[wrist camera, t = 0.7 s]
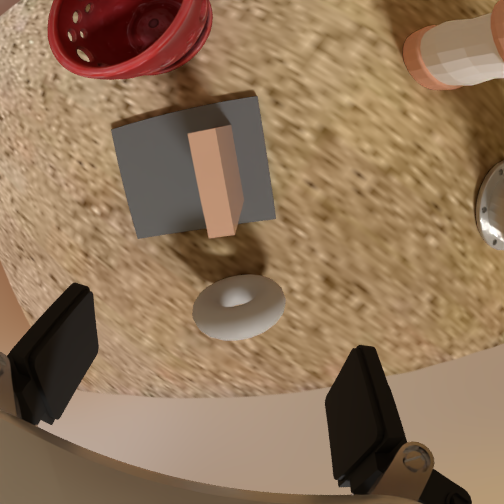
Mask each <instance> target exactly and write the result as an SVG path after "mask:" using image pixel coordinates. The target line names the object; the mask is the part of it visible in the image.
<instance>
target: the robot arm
mask: <svg viewBox="0 0 504 504" xmlns="http://www.w3.org/2000/svg"><path fill="white" fill-rule="evenodd" d="M476 221H477V227H478V230H479V233H480V235H481V237H482V238H483V240H484V241H485V242H486V243H487V244H488V245H490V246H491V247H492V248H494V249H497V250H504V161H501V162H499V163H498V164H496V165H495V166H494V167H493V168H492V169H491V170H490V171H489V173H488V174H487V175H486V177H485V179H484V181H483V183H482V185H481V188H480V191H479V194H478V199H477V205H476ZM98 349H99V345H98V338H97V329H96V320H95V310H94V299H93V293H92V292H91V291H90V289H89V287H88V286H85V285H81V284H78V283H73V284H71V285H70V286H69V287H68V288H67V289H66V290H65V291H64V293H63V294H62V295H61V296H60V297H59V298H58V299H57V300H56V301H55V302H54V303H53V304H52V305H51V306H50V307H49V308H48V309H47V310H46V312H45V313H44V314H43V315H42V316H41V317H40V318H39V319H38V320H37V321H36V322H35V324H34V325H33V326H32V327H31V328H30V329H29V330H28V331H27V333H26V334H25V335H24V336H23V337H22V338H21V339H20V341H19V342H18V343H17V344H16V345H15V346H14V348H13V349H12V350H11V351H10V353H9V354H8V355H7V356H6V355H5V354H3V353H2V352H0V504H472V501H471V497H470V495H469V494H468V492H467V491H466V490H464V489H463V488H462V487H460V486H459V485H457V484H455V483H454V482H452V481H451V480H449V479H448V478H446V477H445V476H443V475H442V474H440V473H439V472H437V471H436V470H434V469H433V467H434V457H433V455H432V452H431V451H430V450H429V448H427V447H426V446H425V445H423V444H421V443H419V442H407V440H406V437H405V433H404V431H403V427H402V424H401V420H400V417H399V414H398V411H397V408H396V404H395V401H394V398H393V395H392V392H391V389H390V387H389V385H388V383H387V380H386V377H385V374H384V371H383V368H382V365H381V363H380V360H379V357H378V354H377V351H376V349H375V347H372V346H364V345H359V346H357V348H353V349H352V350H351V352H350V354H349V356H348V358H347V360H346V362H345V363H344V365H343V367H342V369H341V371H340V373H339V375H338V376H337V378H336V380H335V382H334V384H333V385H332V387H331V389H330V391H329V393H328V394H327V396H326V400H325V408H326V415H327V423H328V431H329V440H330V448H331V456H332V465H333V466H332V467H333V476H334V479H335V480H338V486H339V487H351V493H352V494H351V495H300V494H299V495H298V494H282V493H269V492H258V491H250V490H242V489H234V488H228V487H221V486H216V485H210V484H205V483H200V482H194V481H190V480H185V479H181V478H177V477H172V476H168V475H164V474H161V473H157V472H153V471H150V470H146V469H143V468H140V467H136V466H133V465H130V464H127V463H124V462H121V461H118V460H115V459H112V458H109V457H107V456H104V455H101V454H98V453H96V452H93V451H90V450H88V449H86V448H83V447H81V446H78V445H76V444H74V443H71V442H69V441H67V440H64V439H62V438H60V437H57V436H55V435H53V434H51V433H49V432H47V431H45V430H43V429H41V428H39V427H38V426H37V425H38V423H39V422H40V420H42V421H44V422H46V423H48V424H50V425H52V424H53V422H54V420H55V419H59V418H60V417H61V415H62V413H63V412H64V410H65V408H66V406H67V405H68V403H69V401H70V399H71V398H72V396H73V394H74V392H75V390H76V389H77V387H78V385H79V384H80V382H81V380H82V379H83V377H84V375H85V374H86V372H87V370H88V369H89V367H90V365H91V364H92V362H93V360H94V359H95V357H96V355H97V353H98Z"/></svg>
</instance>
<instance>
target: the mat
mask: <svg viewBox="0 0 504 504" xmlns="http://www.w3.org/2000/svg"><path fill="white" fill-rule="evenodd" d="M227 125H231V127H232V132H233V138H234V144H235V150H236V156H237V162H238V167H239V173H240V179H241V185H242V191H243V197H244V202H243V206H242V210H241V214H240V217H239V221H238V224H241V223H248V222H256V221H263V220H271V219H276V215H275V208H274V201H273V194H272V187H271V180H270V173H269V167H268V160H267V153H266V147H265V141H264V134H263V128H262V122H261V115H260V109H259V103H258V97H257V96H255V97H248V98H242V99H236V100H230V101H224V102H219V103H214V104H209V105H204V106H199V107H194V108H190V109H185V110H181V111H177V112H173V113H169V114H165V115H161V116H157V117H153V118H149V119H146V120H142V121H138V122H135V123H132V124H128V125H125V126H122V127H118V128H115V129H112V130H111V131H112V136H113V141H114V146H115V151H116V155H117V160H118V164H119V169H120V173H121V177H122V181H123V185H124V189H125V193H126V197H127V201H128V205H129V209H130V213H131V216H132V220H133V223H134V227H135V231H136V234H137V238H138V239H140V238H146V237H152V236H159V235H165V234H172V233H178V232H185V231H192V230H198V229H205V228H207V227H206V223H205V218H204V213H203V208H202V204H201V199H200V194H199V189H198V184H197V180H196V175H195V170H194V165H193V160H192V154H191V149H190V144H189V139H188V133H193V132H197V131H201V130H206V129H210V128H216V127H221V126H227Z"/></svg>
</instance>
